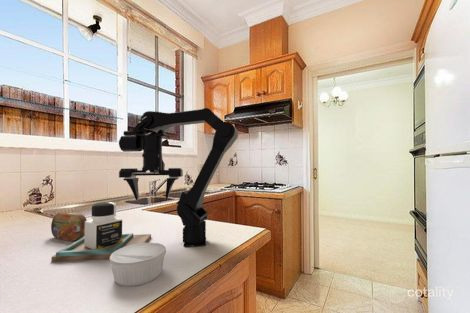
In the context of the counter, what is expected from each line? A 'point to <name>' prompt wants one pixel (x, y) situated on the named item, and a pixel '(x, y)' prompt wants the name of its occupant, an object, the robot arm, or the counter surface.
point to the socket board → (84, 253)
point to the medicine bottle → (103, 227)
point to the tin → (68, 226)
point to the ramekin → (137, 263)
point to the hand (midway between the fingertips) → (152, 199)
